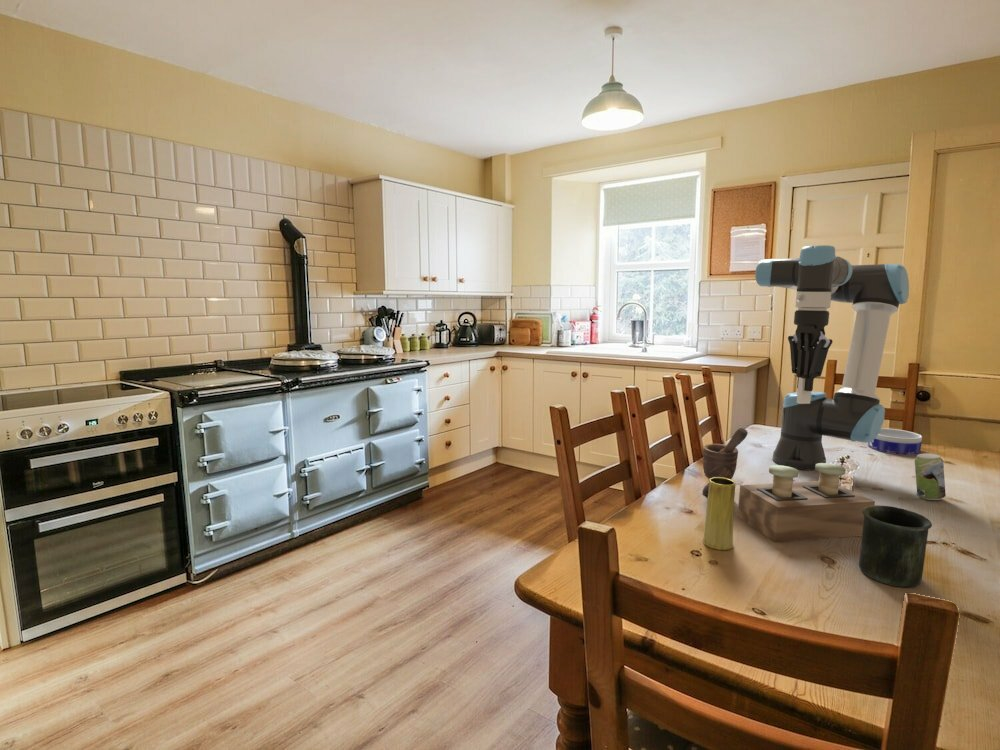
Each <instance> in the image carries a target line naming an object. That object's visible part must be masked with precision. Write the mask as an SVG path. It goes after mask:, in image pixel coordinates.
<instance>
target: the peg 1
mask: <svg viewBox="0 0 1000 750" xmlns="http://www.w3.org/2000/svg"><path fill="white" fill-rule="evenodd" d="M799 472H800V471H799V469H797V468H792V467H788V466H783V465H780V464H777V465H776V464H775V465H770V466H769V467H768V473H769V474H771V475H772V476H773V477H772V478H773V479H772V483H773V487H772V495H774V496H776V497H778V498H788V497H791V495H792V484H793V482H794V479H795V478H798V477H799V474H800V473H799Z"/></svg>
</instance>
